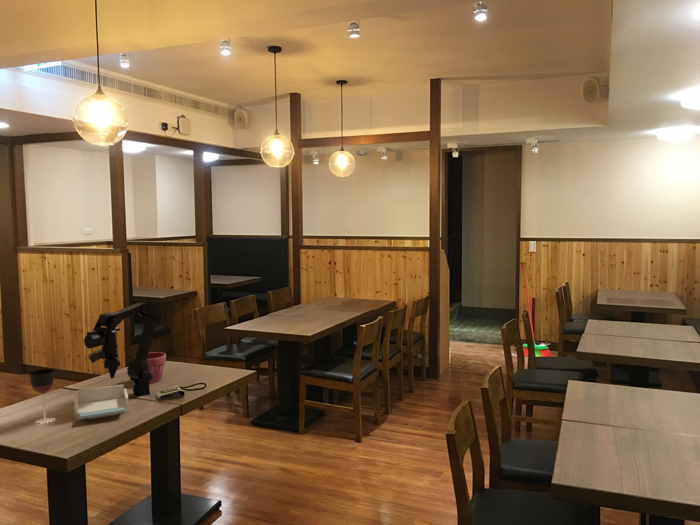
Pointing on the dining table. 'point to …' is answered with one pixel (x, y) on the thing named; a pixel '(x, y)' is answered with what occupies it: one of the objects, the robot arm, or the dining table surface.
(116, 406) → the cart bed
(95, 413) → the tailgate
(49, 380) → the wineglass
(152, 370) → the plant pot
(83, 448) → the dining table surface
